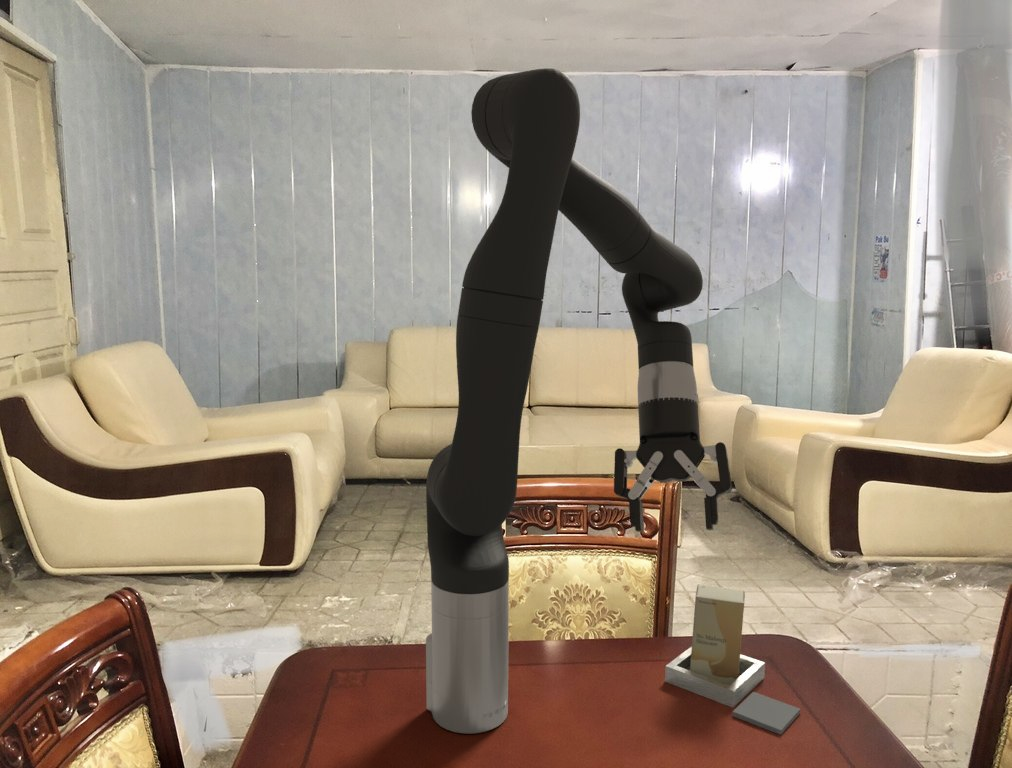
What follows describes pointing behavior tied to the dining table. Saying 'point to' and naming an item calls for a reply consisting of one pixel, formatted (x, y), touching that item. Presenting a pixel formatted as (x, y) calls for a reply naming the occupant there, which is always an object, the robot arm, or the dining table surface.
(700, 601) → the skincare box
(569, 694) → the dining table surface
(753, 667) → the grey square frame
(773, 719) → the pad
